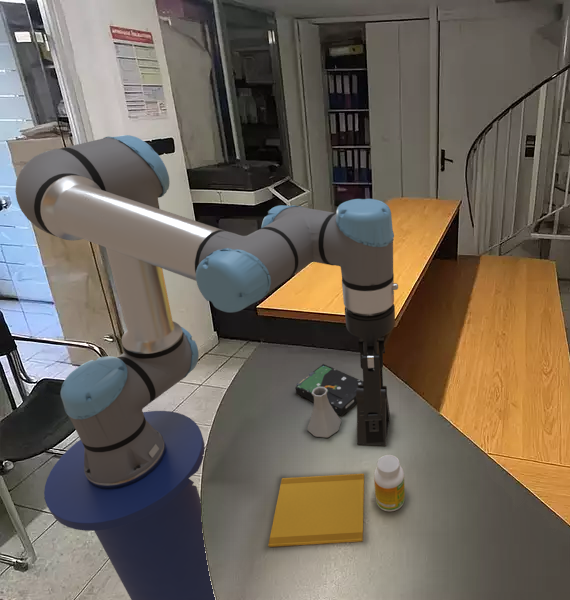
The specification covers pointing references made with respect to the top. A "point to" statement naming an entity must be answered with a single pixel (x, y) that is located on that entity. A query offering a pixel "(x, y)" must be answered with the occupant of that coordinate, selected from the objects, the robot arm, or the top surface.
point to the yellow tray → (319, 510)
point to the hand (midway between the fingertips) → (375, 411)
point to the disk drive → (331, 387)
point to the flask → (323, 415)
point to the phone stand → (360, 419)
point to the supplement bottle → (389, 483)
